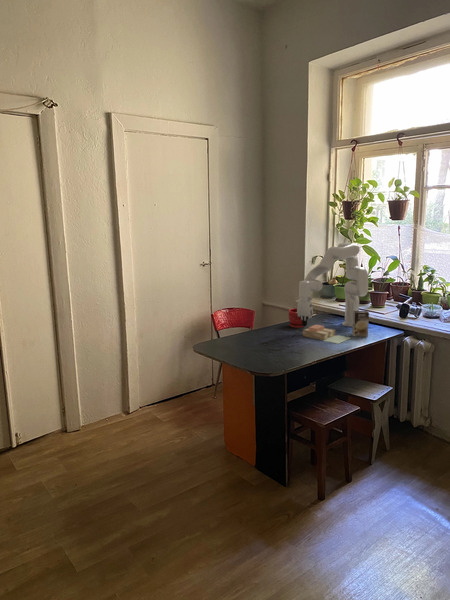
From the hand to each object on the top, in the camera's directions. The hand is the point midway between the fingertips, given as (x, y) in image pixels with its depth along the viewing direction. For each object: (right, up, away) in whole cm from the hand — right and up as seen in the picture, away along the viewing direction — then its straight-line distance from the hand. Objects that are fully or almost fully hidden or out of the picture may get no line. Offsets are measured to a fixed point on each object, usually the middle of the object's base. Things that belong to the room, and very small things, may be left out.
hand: (304, 325), depth 300 cm
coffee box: (+35, -6, -8) cm, 37 cm away
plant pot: (-1, -2, +19) cm, 19 cm away
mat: (+18, -8, -16) cm, 26 cm away
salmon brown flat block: (+7, -2, -6) cm, 9 cm away
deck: (+8, -6, -7) cm, 12 cm away
